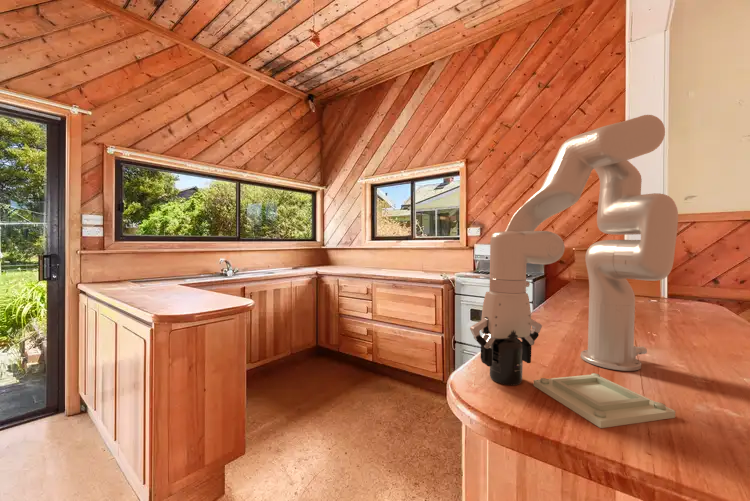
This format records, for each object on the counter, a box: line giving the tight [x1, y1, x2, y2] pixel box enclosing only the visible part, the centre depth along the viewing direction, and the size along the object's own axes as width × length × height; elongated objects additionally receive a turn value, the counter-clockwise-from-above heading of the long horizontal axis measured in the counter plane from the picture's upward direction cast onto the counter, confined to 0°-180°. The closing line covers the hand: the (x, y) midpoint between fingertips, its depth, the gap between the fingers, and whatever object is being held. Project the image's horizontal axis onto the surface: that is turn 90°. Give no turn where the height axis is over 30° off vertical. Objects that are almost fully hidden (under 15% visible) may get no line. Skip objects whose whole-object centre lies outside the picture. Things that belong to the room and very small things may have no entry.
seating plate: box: [533, 372, 676, 429], centre depth 63 cm, size 16×16×2 cm
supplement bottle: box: [489, 330, 524, 386], centre depth 72 cm, size 7×7×12 cm
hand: (505, 362), depth 72 cm, fingers open, 9 cm apart
